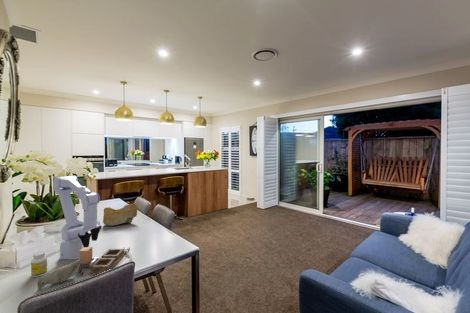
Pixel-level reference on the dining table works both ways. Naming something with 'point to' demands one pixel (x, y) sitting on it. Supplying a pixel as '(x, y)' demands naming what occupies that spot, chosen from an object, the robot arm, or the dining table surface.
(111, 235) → the dining table surface
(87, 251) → the peg
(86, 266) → the socket
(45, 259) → the supplement bottle
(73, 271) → the decorative bird
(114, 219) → the rough brown rock
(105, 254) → the rack
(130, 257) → the pliers
